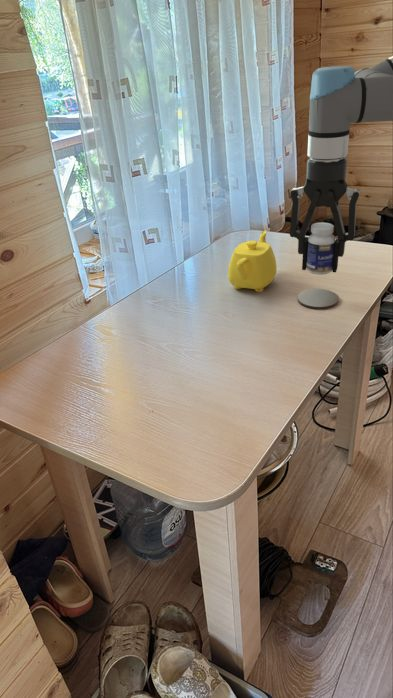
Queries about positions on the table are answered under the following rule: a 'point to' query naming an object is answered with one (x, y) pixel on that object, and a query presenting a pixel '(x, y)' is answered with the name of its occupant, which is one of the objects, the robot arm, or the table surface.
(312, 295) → the coaster
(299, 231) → the robot arm
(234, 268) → the teapot
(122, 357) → the table surface
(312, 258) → the pill bottle
